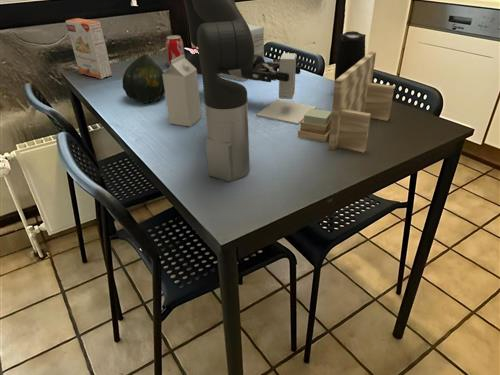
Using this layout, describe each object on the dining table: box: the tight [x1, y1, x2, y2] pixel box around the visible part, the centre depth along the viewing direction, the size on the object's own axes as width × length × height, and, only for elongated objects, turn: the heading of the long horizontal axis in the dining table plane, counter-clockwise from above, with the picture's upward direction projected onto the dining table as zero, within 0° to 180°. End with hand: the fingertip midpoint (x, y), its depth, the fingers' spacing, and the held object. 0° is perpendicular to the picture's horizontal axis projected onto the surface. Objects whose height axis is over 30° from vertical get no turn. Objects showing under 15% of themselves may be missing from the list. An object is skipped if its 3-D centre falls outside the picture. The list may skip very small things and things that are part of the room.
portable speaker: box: [334, 30, 367, 81], centre depth 130 cm, size 9×9×20 cm
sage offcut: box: [304, 108, 332, 126], centre depth 107 cm, size 5×6×2 cm
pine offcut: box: [297, 128, 330, 144], centre depth 109 cm, size 6×8×2 cm
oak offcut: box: [299, 119, 331, 135], centre depth 108 cm, size 6×7×2 cm
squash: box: [122, 54, 165, 104], centre depth 134 cm, size 14×15×15 cm
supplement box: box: [219, 24, 265, 82], centre depth 152 cm, size 13×13×18 cm
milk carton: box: [162, 53, 202, 127], centre depth 115 cm, size 7×7×19 cm
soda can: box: [165, 34, 185, 67], centre depth 165 cm, size 7×7×12 cm
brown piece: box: [328, 51, 396, 154], centre depth 106 cm, size 28×8×18 cm, turn 149°
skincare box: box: [278, 52, 297, 100], centre depth 118 cm, size 6×4×12 cm
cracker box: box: [65, 17, 113, 79], centre depth 155 cm, size 14×6×21 cm, turn 55°
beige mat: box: [255, 99, 318, 126], centre depth 124 cm, size 14×14×1 cm
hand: (294, 74), depth 116 cm, fingers closed on skincare box, 7 cm apart
